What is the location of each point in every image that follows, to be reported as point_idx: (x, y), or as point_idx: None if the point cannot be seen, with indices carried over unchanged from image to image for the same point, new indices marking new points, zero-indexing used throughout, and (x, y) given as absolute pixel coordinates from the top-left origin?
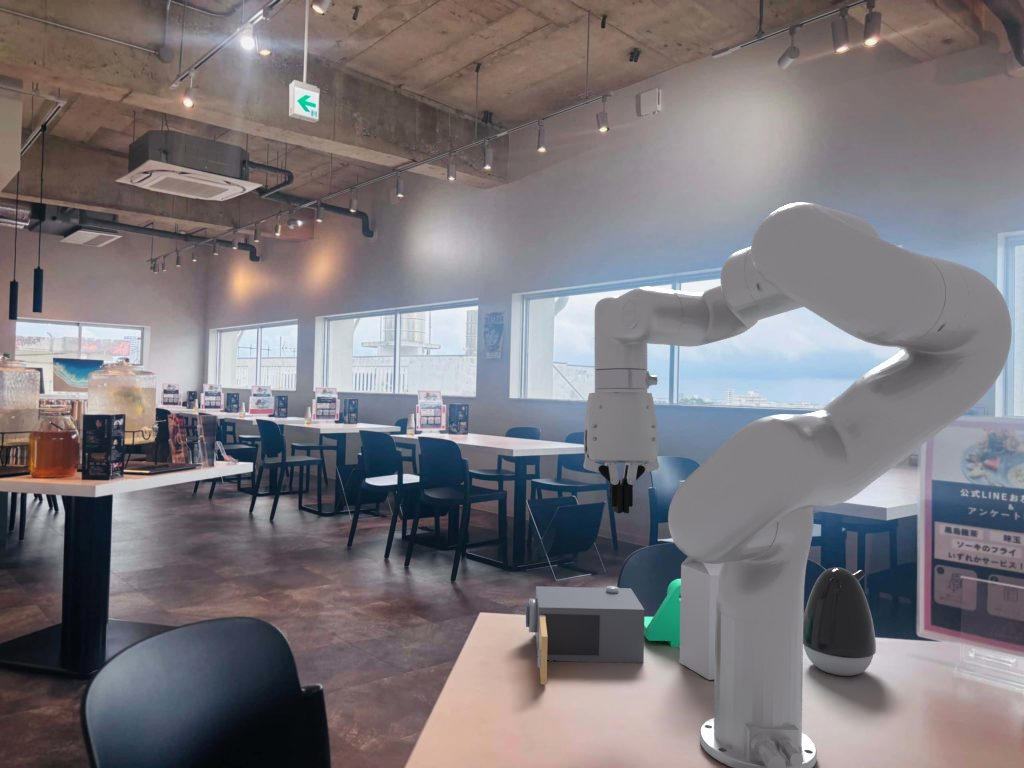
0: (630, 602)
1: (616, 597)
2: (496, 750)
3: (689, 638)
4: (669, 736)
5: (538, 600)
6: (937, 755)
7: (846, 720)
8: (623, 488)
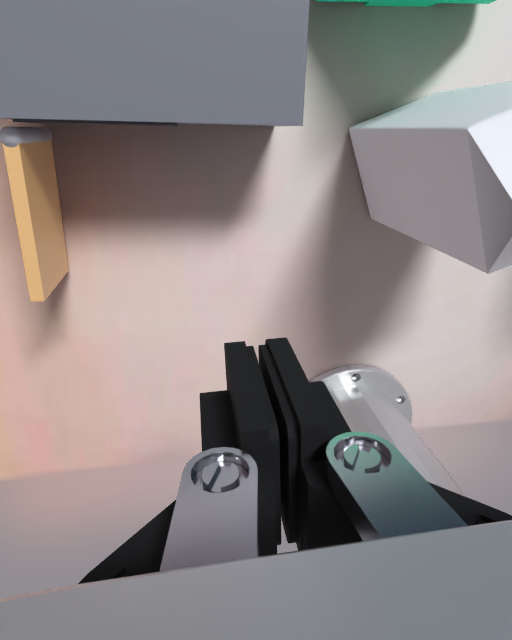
0: (278, 48)
1: None
2: (21, 458)
3: (380, 165)
4: None
5: None
6: None
7: (495, 339)
8: (285, 523)
